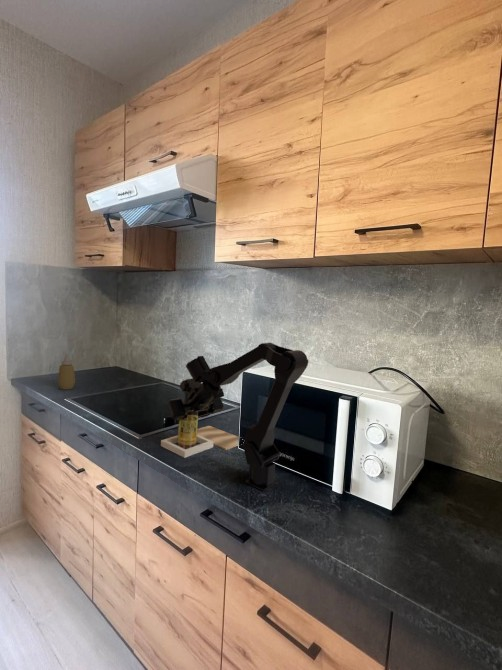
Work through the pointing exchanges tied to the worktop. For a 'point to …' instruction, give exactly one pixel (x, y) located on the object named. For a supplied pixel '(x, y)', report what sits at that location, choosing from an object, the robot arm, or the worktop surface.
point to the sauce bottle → (188, 428)
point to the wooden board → (218, 437)
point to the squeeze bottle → (66, 374)
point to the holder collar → (184, 453)
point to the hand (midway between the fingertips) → (186, 417)
